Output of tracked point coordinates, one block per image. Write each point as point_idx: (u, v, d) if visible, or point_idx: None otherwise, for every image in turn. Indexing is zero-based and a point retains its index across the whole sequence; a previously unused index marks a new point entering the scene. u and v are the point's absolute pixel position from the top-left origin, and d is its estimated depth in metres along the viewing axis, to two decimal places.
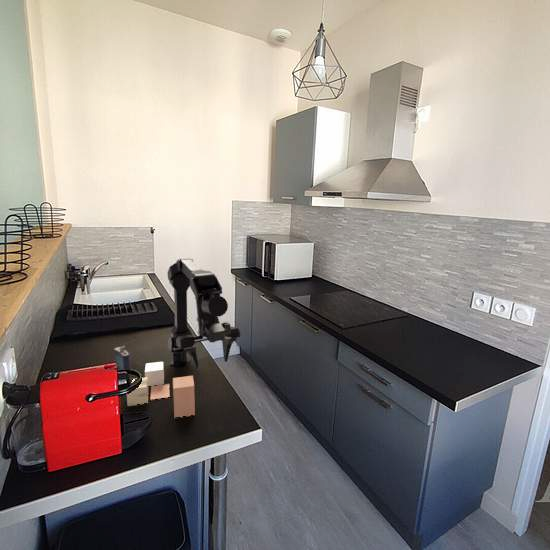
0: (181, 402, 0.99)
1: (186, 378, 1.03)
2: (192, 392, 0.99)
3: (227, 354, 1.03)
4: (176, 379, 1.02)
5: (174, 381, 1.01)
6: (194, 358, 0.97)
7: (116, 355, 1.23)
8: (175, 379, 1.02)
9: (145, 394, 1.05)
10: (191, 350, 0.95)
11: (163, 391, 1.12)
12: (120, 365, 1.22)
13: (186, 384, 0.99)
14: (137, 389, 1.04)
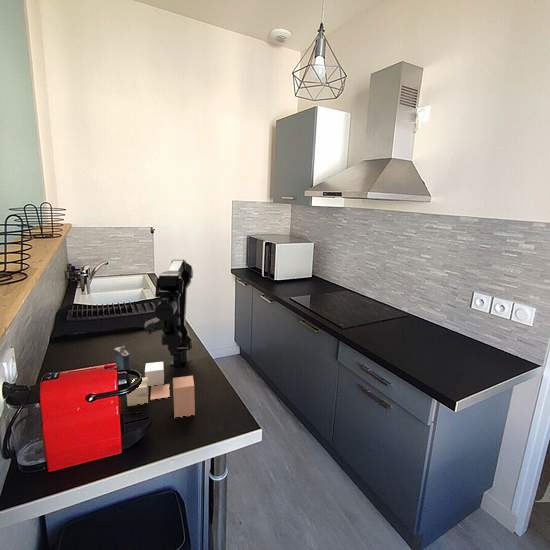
0: (181, 402, 0.99)
1: (186, 378, 1.03)
2: (192, 392, 0.99)
3: (169, 350, 1.12)
4: (176, 379, 1.02)
5: (174, 381, 1.01)
6: None
7: (116, 355, 1.23)
8: (175, 379, 1.02)
9: (145, 394, 1.05)
10: None
11: (163, 391, 1.12)
12: (120, 365, 1.22)
13: (186, 384, 0.99)
14: (137, 389, 1.04)
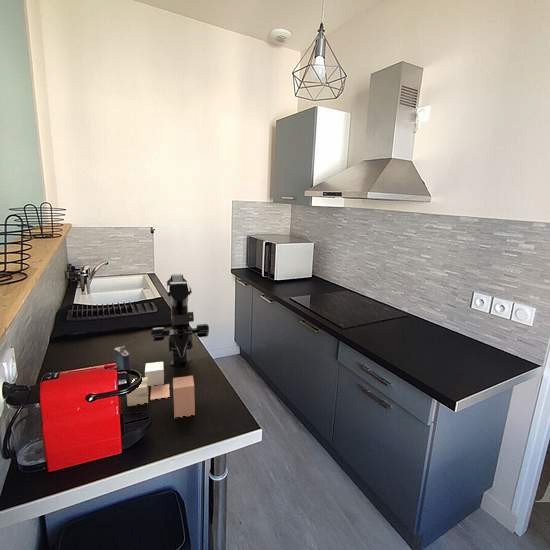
0: (181, 402, 0.99)
1: (186, 378, 1.03)
2: (192, 392, 0.99)
3: (183, 348, 1.10)
4: (176, 379, 1.02)
5: (174, 381, 1.01)
6: (178, 346, 1.10)
7: (116, 355, 1.23)
8: (175, 379, 1.02)
9: (145, 394, 1.05)
10: (174, 337, 1.10)
11: (163, 391, 1.12)
12: (120, 365, 1.22)
13: (186, 384, 0.99)
14: (137, 389, 1.04)
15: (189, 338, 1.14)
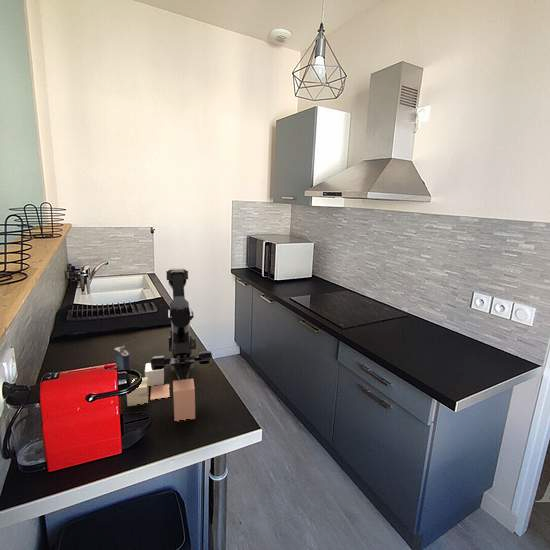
0: (181, 405, 0.97)
1: (186, 381, 1.01)
2: (192, 395, 0.98)
3: (184, 378, 1.03)
4: (176, 382, 1.00)
5: (174, 384, 0.99)
6: (179, 375, 1.03)
7: (116, 355, 1.23)
8: (175, 382, 1.00)
9: (145, 394, 1.05)
10: (175, 366, 1.03)
11: (163, 391, 1.12)
12: (120, 365, 1.22)
13: (186, 387, 0.98)
14: (137, 389, 1.04)
15: (191, 366, 1.08)
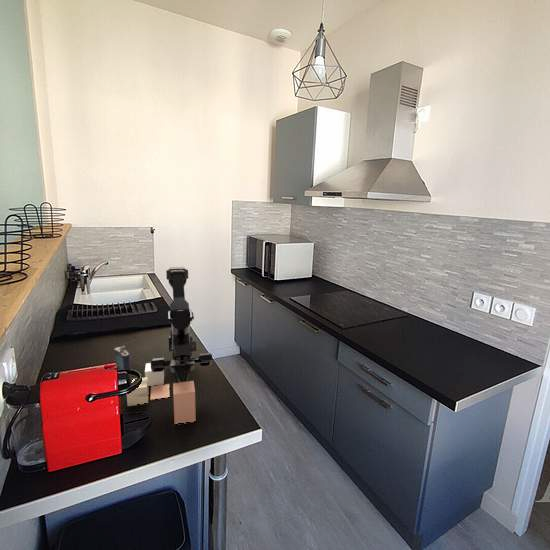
0: (182, 408, 0.96)
1: (186, 383, 1.00)
2: (193, 398, 0.96)
3: (185, 381, 1.02)
4: (176, 384, 0.99)
5: (174, 386, 0.98)
6: (179, 378, 1.02)
7: (116, 355, 1.23)
8: (175, 385, 0.99)
9: (145, 394, 1.05)
10: (175, 368, 1.02)
11: (163, 391, 1.12)
12: (120, 365, 1.22)
13: (186, 390, 0.96)
14: (137, 389, 1.04)
15: (191, 368, 1.07)
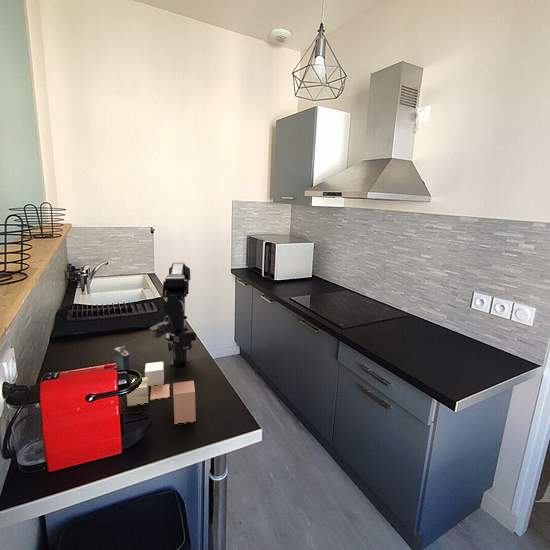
0: (182, 408, 0.96)
1: (186, 383, 1.00)
2: (193, 398, 0.96)
3: (174, 352, 1.12)
4: (176, 384, 0.99)
5: (174, 386, 0.98)
6: (171, 348, 1.13)
7: (116, 355, 1.23)
8: (175, 385, 0.99)
9: (145, 394, 1.05)
10: (167, 340, 1.13)
11: (163, 391, 1.12)
12: (120, 365, 1.22)
13: (186, 390, 0.96)
14: (137, 389, 1.04)
15: None
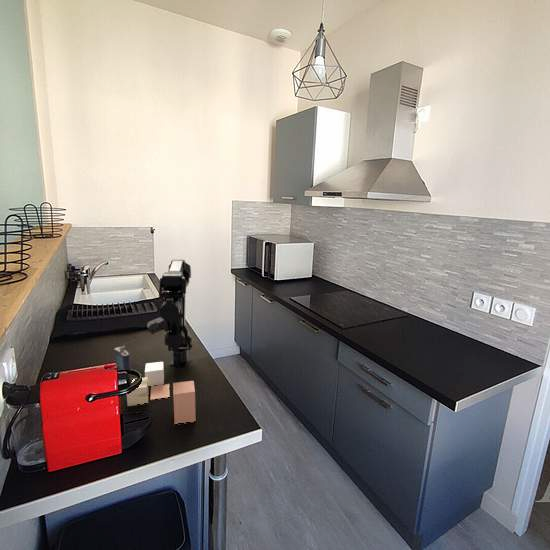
0: (182, 408, 0.96)
1: (186, 383, 1.00)
2: (193, 398, 0.96)
3: (172, 347, 1.14)
4: (176, 384, 0.99)
5: (174, 386, 0.98)
6: None
7: (116, 355, 1.23)
8: (175, 385, 0.99)
9: (145, 394, 1.05)
10: None
11: (163, 391, 1.12)
12: (120, 365, 1.22)
13: (186, 390, 0.96)
14: (137, 389, 1.04)
15: None
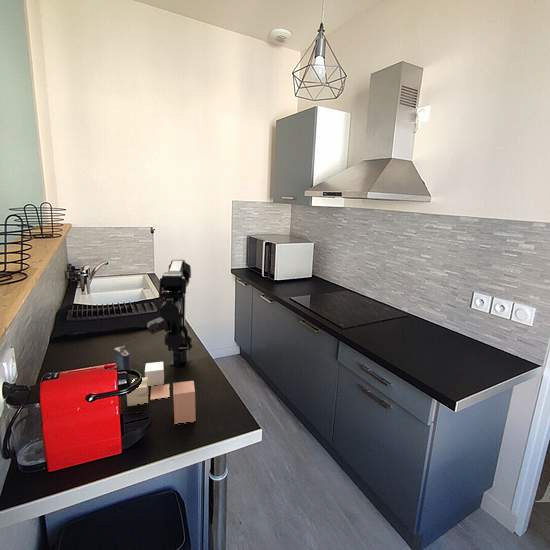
0: (182, 408, 0.96)
1: (186, 383, 1.00)
2: (193, 398, 0.96)
3: (172, 347, 1.14)
4: (176, 384, 0.99)
5: (174, 386, 0.98)
6: None
7: (116, 355, 1.23)
8: (175, 385, 0.99)
9: (145, 394, 1.05)
10: None
11: (163, 391, 1.12)
12: (120, 365, 1.22)
13: (186, 390, 0.96)
14: (137, 389, 1.04)
15: None
